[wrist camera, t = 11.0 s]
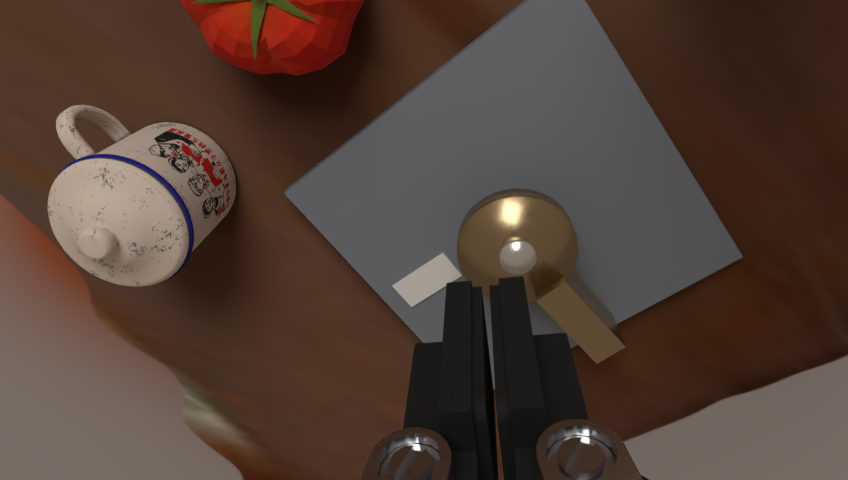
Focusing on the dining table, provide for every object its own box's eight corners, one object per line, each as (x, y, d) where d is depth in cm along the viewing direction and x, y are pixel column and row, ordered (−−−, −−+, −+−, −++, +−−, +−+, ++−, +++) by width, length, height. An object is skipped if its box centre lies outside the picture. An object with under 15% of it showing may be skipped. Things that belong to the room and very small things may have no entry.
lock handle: (435, 225, 41) (431, 252, 37) (522, 155, 38) (528, 177, 34) (557, 349, 45) (565, 385, 41) (644, 294, 42) (661, 327, 39)
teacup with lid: (264, 197, 44) (201, 274, 33) (178, 247, 46) (94, 332, 36) (159, 58, 39) (48, 95, 29) (71, 121, 42) (-60, 177, 32)
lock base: (563, -31, 35) (573, -29, 31) (734, 247, 43) (758, 274, 39) (289, 185, 43) (273, 207, 39) (475, 387, 51) (475, 420, 47)
